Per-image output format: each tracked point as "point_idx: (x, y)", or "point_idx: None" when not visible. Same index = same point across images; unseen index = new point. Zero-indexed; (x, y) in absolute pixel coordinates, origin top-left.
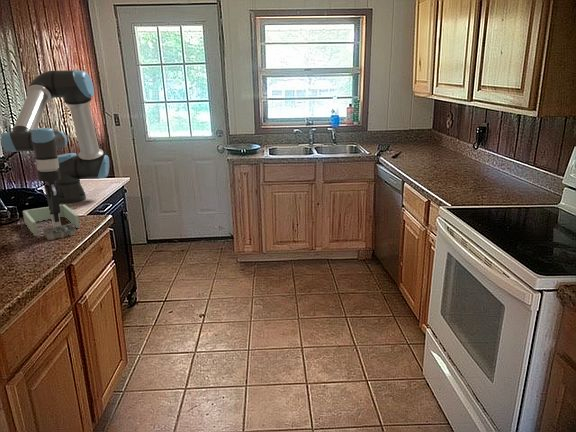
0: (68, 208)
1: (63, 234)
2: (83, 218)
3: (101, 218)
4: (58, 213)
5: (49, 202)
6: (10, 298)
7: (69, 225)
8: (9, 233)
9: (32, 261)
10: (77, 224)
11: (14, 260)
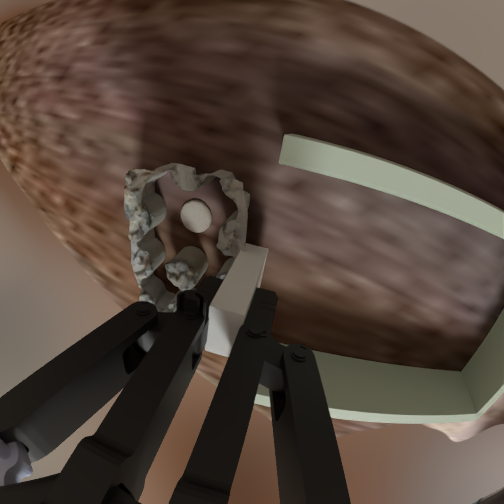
0: (409, 420)
1: (144, 240)
2: None
3: None
4: (207, 344)
5: (216, 406)
6: None
7: None
8: (470, 85)
9: (14, 73)
10: None
11: (47, 23)
